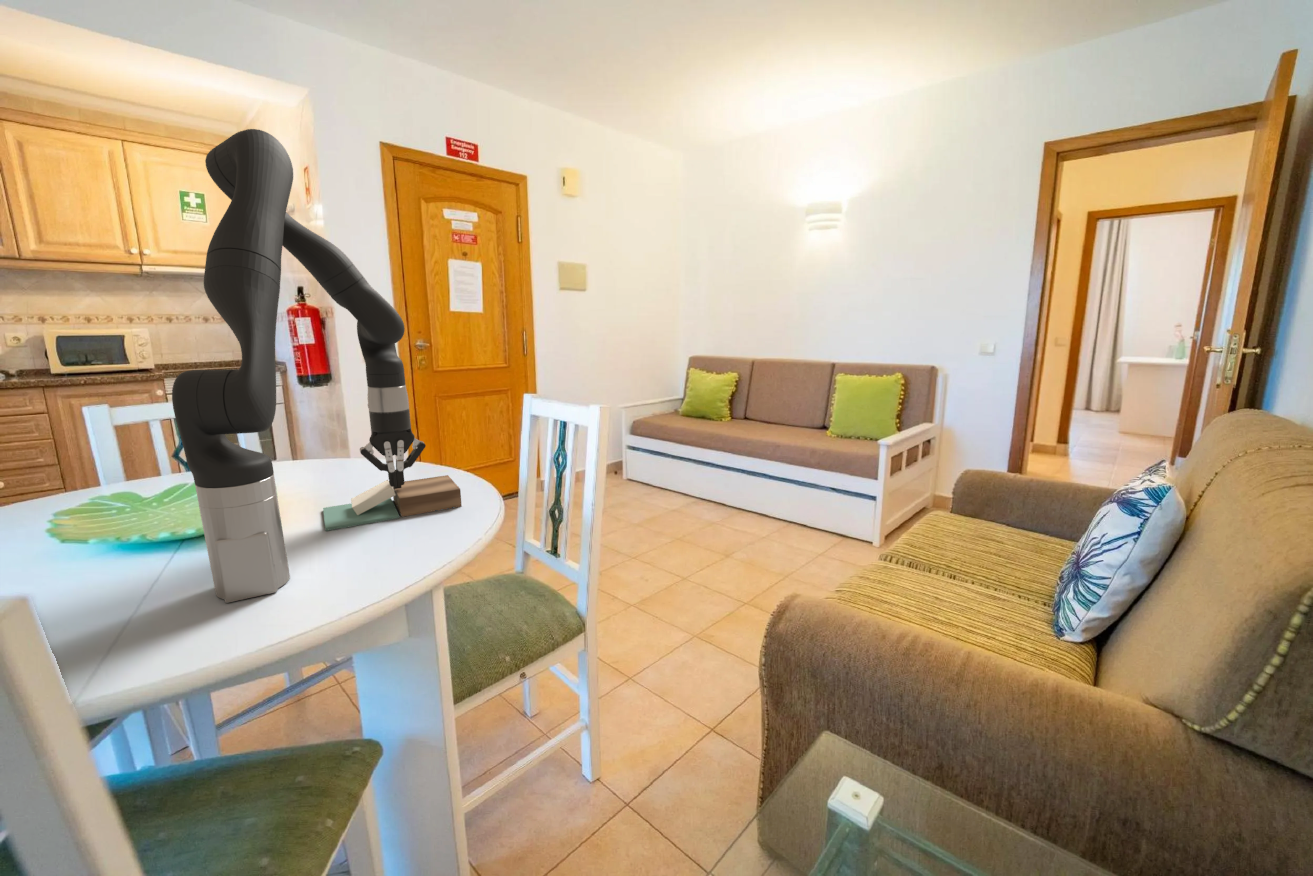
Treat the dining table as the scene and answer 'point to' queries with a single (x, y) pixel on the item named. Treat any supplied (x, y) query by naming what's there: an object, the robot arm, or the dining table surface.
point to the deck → (427, 495)
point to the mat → (348, 517)
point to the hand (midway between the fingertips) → (397, 487)
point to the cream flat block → (372, 497)
